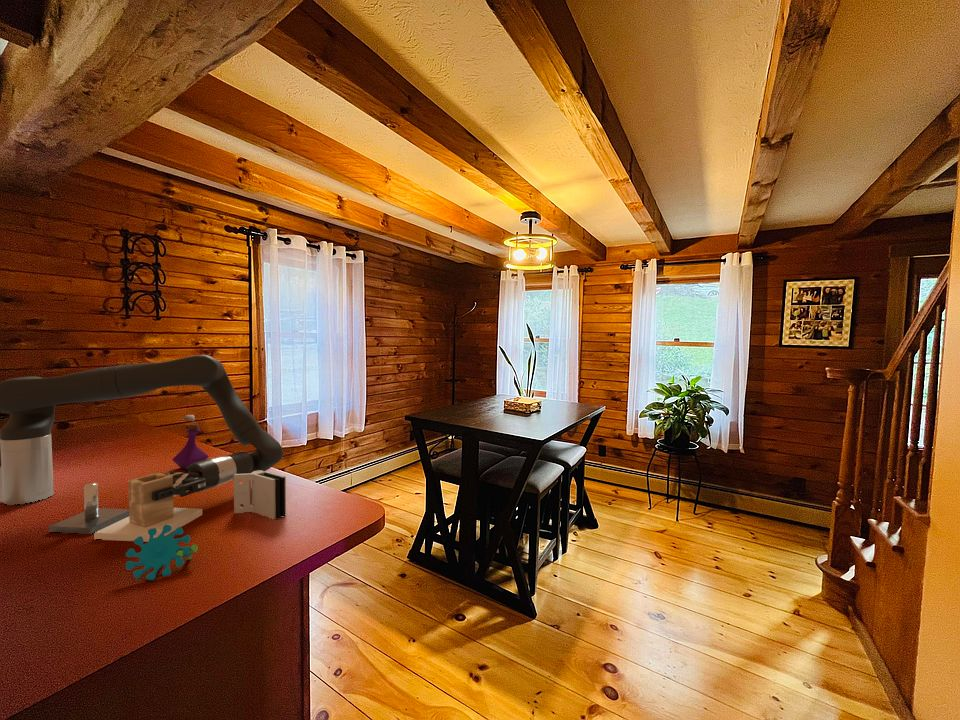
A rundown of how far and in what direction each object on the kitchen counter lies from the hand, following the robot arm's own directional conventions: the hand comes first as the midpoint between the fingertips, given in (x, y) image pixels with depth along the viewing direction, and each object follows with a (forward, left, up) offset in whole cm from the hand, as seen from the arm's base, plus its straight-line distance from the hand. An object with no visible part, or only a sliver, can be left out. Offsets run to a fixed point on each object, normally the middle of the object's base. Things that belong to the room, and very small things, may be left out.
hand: (141, 493), depth 94 cm
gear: (+18, -15, -9) cm, 25 cm away
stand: (-14, +2, -9) cm, 17 cm away
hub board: (+1, +2, -9) cm, 9 cm away
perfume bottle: (-23, +44, -9) cm, 50 cm away
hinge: (+22, +11, -9) cm, 26 cm away
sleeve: (+1, +2, -7) cm, 7 cm away
